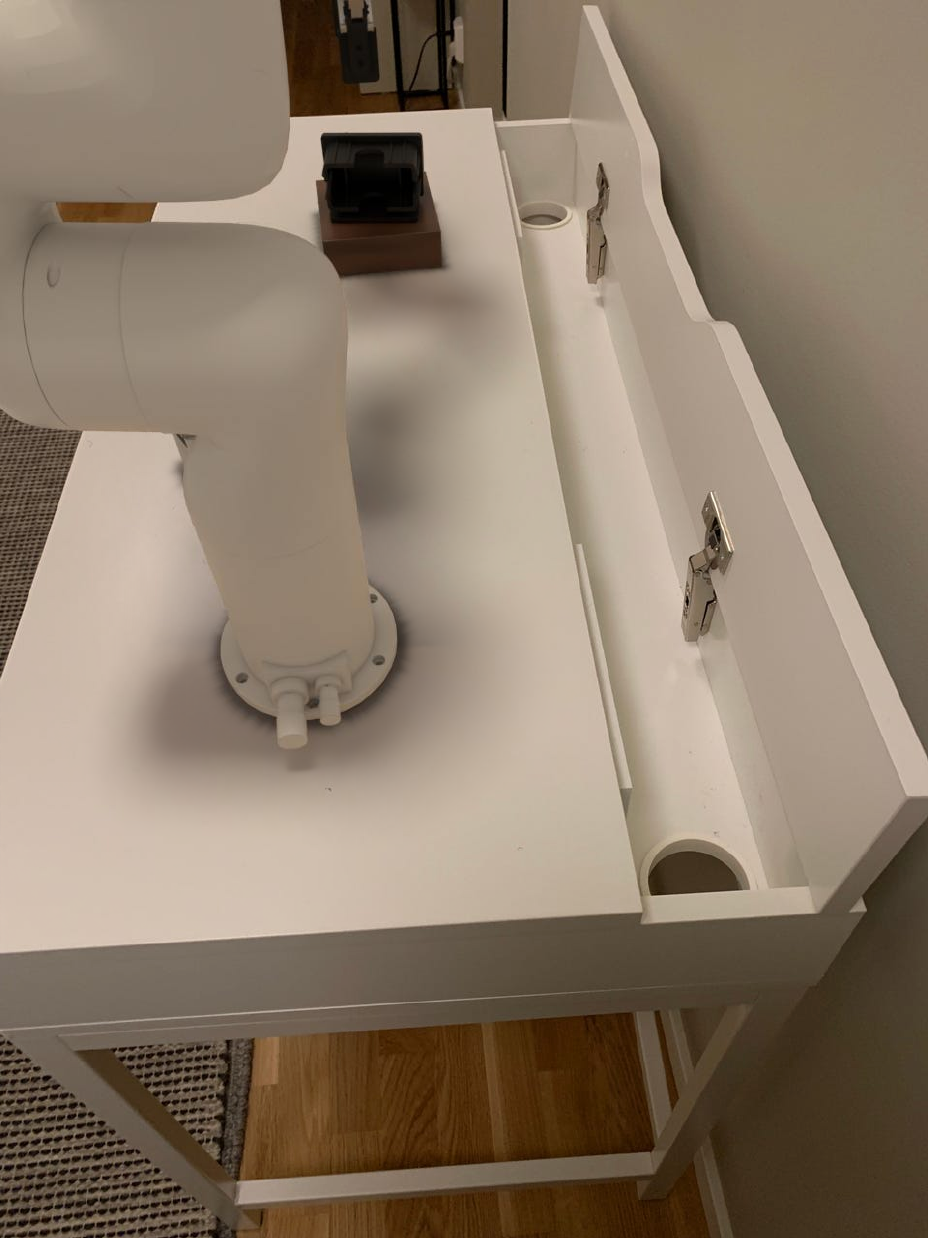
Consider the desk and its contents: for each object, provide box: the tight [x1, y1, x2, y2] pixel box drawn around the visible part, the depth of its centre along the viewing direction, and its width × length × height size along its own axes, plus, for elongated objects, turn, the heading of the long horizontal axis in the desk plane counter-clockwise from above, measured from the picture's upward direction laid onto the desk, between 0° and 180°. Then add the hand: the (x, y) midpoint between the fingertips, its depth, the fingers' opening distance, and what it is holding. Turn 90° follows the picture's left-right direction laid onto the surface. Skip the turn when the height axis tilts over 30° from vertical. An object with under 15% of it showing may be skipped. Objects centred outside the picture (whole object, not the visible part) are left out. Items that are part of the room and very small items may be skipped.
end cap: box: [320, 131, 425, 223], centre depth 89 cm, size 10×7×7 cm
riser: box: [315, 170, 443, 277], centre depth 93 cm, size 12×12×4 cm
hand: (356, 57), depth 79 cm, fingers open, 9 cm apart
